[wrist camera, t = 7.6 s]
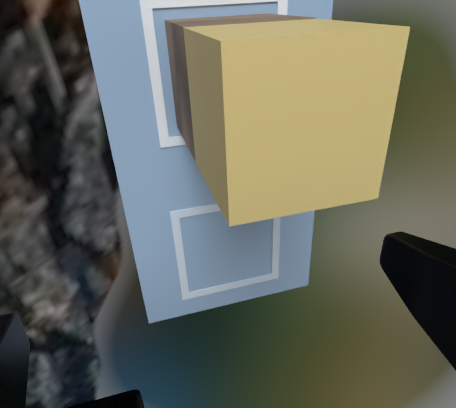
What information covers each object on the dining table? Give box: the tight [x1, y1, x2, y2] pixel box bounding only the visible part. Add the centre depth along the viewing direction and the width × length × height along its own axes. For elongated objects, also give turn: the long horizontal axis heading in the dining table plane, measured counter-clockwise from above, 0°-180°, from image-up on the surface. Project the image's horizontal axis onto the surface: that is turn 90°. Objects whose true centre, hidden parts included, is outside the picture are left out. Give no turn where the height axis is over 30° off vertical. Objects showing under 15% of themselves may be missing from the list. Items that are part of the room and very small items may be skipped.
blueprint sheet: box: [79, 0, 333, 323], centre depth 21 cm, size 22×12×1 cm, turn 3°
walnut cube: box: [165, 14, 316, 162], centre depth 16 cm, size 5×5×5 cm
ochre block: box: [183, 19, 410, 227], centre depth 12 cm, size 5×5×5 cm
